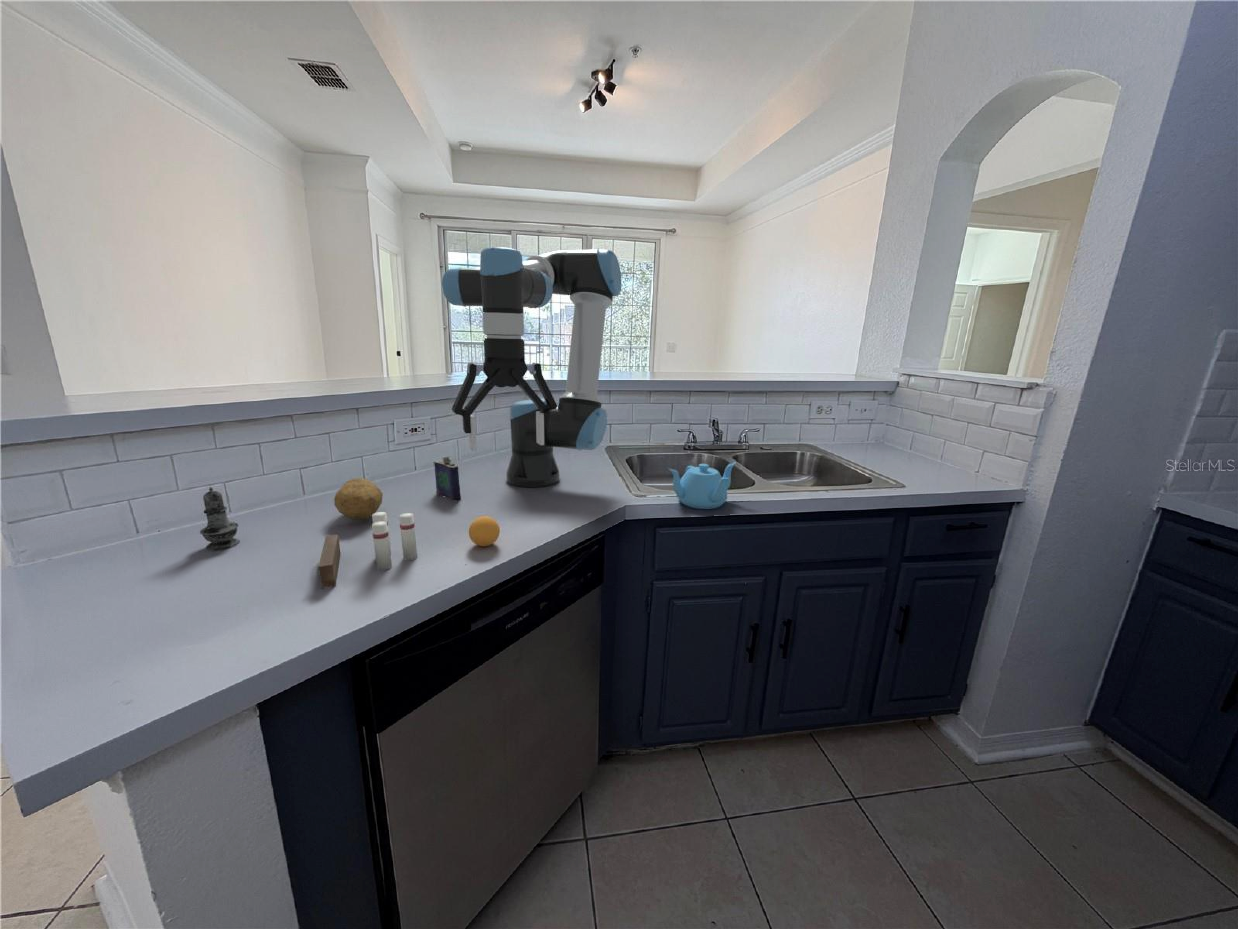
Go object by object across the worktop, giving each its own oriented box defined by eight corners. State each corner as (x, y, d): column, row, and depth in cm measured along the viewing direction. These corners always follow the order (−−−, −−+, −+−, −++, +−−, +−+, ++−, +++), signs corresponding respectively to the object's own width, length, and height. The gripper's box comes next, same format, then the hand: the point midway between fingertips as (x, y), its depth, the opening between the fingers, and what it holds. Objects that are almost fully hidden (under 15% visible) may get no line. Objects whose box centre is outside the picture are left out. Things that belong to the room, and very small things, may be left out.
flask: (434, 493, 127) (431, 454, 124) (444, 491, 129) (441, 452, 126) (454, 502, 121) (451, 461, 118) (464, 499, 123) (462, 458, 120)
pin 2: (391, 563, 90) (387, 520, 87) (392, 569, 87) (387, 525, 85) (376, 565, 89) (371, 522, 86) (376, 571, 86) (371, 527, 84)
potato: (335, 532, 102) (329, 496, 100) (338, 509, 114) (333, 477, 112) (385, 524, 106) (381, 490, 104) (383, 504, 118) (380, 472, 116)
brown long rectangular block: (340, 553, 93) (337, 534, 91) (335, 586, 81) (332, 564, 80) (328, 555, 92) (325, 536, 91) (321, 588, 81) (318, 566, 79)
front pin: (417, 553, 94) (413, 512, 91) (417, 558, 91) (413, 517, 89) (402, 555, 93) (398, 514, 90) (403, 561, 90) (399, 519, 88)
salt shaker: (239, 536, 99) (227, 480, 96) (244, 545, 95) (232, 487, 92) (202, 544, 95) (188, 486, 92) (205, 554, 91) (191, 494, 88)
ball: (496, 536, 102) (495, 510, 100) (503, 548, 97) (502, 520, 95) (467, 541, 99) (465, 514, 98) (472, 553, 94) (470, 525, 92)
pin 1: (391, 551, 94) (386, 511, 92) (391, 557, 92) (386, 515, 89) (376, 554, 93) (371, 512, 91) (376, 559, 91) (371, 517, 88)
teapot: (681, 490, 135) (684, 454, 132) (736, 498, 129) (739, 461, 127) (666, 507, 122) (668, 468, 119) (725, 516, 116) (729, 476, 113)
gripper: (559, 337, 100) (559, 437, 106) (431, 335, 89) (439, 447, 94) (572, 338, 94) (572, 445, 99) (437, 336, 82) (445, 456, 88)
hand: (507, 446), depth 97 cm, fingers open, 13 cm apart
